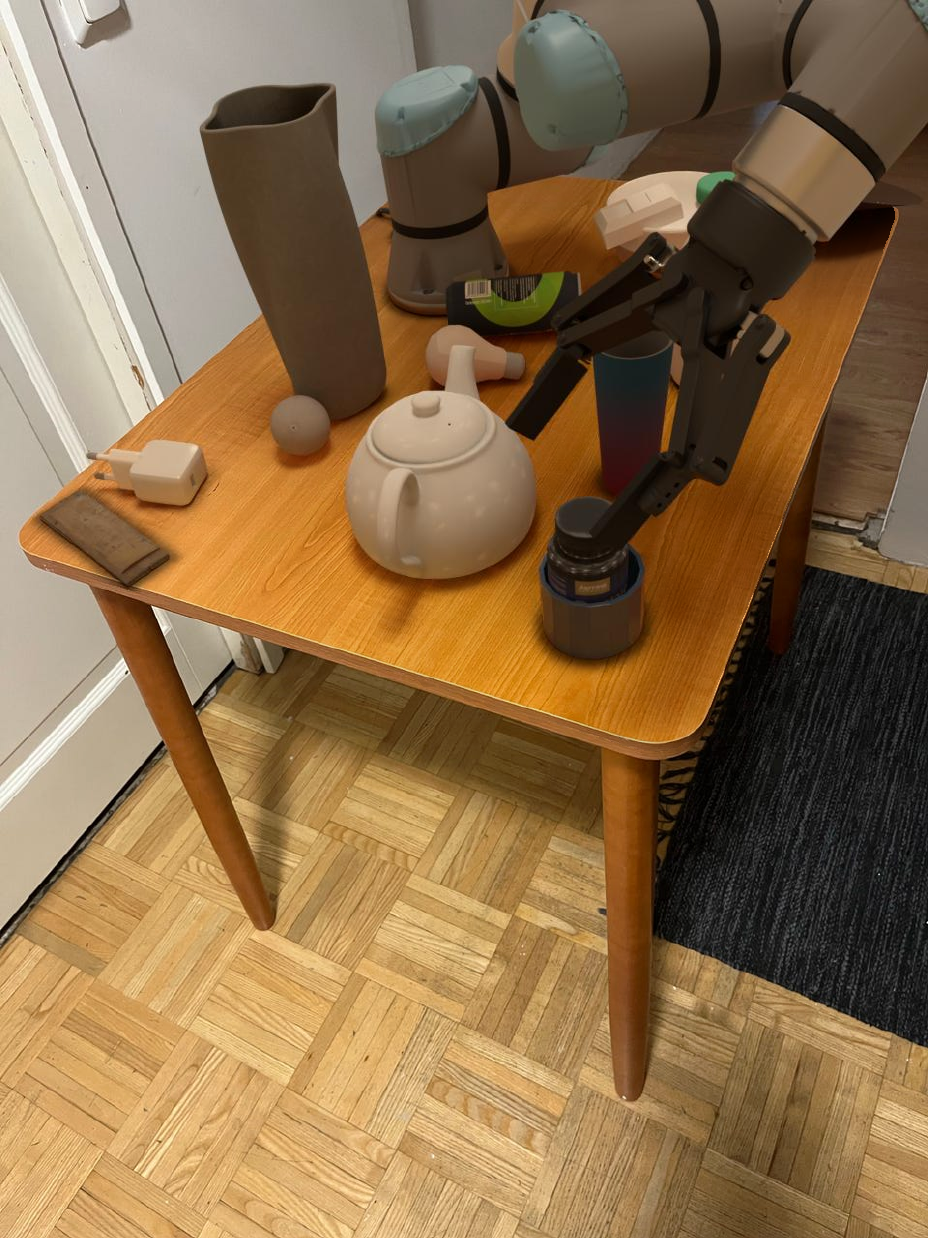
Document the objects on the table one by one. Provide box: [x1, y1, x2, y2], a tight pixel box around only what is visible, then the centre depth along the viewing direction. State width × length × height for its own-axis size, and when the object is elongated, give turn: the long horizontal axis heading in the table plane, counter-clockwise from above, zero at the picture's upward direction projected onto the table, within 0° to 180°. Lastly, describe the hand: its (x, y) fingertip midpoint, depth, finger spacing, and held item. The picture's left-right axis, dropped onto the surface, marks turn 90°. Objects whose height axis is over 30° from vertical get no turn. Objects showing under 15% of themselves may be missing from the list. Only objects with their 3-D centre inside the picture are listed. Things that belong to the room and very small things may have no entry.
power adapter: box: [85, 439, 208, 506], centre depth 95 cm, size 11×5×6 cm
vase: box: [198, 82, 388, 422], centre depth 93 cm, size 12×12×30 cm
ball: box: [269, 394, 331, 457], centre depth 96 cm, size 6×6×6 cm
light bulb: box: [424, 325, 527, 387], centre depth 101 cm, size 7×7×11 cm
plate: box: [691, 161, 924, 212], centre depth 118 cm, size 28×28×4 cm
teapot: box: [344, 345, 538, 580], centre depth 82 cm, size 19×18×14 cm
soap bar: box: [593, 183, 684, 250], centre depth 107 cm, size 5×9×3 cm, turn 98°
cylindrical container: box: [538, 542, 646, 660], centre depth 75 cm, size 8×8×6 cm
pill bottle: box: [546, 495, 629, 603], centre depth 73 cm, size 6×6×11 cm
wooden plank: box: [38, 489, 171, 587], centre depth 91 cm, size 17×1×5 cm
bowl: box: [605, 170, 710, 263], centre depth 113 cm, size 16×16×8 cm
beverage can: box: [446, 270, 582, 338], centre depth 107 cm, size 6×6×15 cm
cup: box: [591, 331, 674, 497], centre depth 83 cm, size 7×7×15 cm
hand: (558, 483), depth 66 cm, fingers open, 13 cm apart
